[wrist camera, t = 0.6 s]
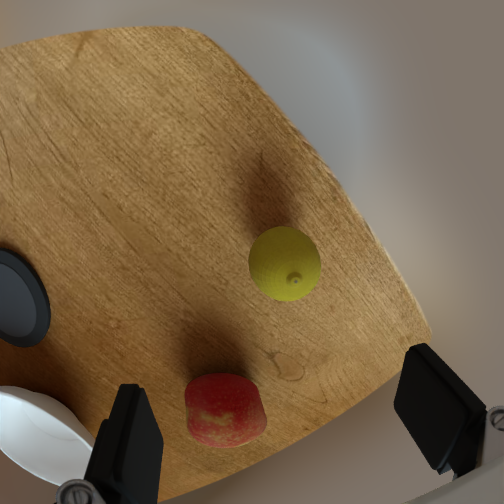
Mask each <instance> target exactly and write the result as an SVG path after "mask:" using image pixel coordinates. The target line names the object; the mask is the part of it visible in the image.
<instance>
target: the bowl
mask: <svg viewBox="0 0 504 504" xmlns="http://www.w3.org/2000/svg"><path fill="white" fill-rule="evenodd" d="M94 443H95V439H94V438H93V436H92V435H91V433H90V432H89V431H88V430H87V429H86V428H85V427H84V426H83V425H82V424H81V423H80V422H79V420H78V419H77V417H76V416H75V415H74V414H73V413H72V412H71V411H70V410H69V409H68V408H67V407H66V406H64V405H63V404H62V403H60V402H59V401H57V400H56V399H54V398H52V397H50V396H48V395H45V394H42V393H37V392H32V391H29V390H27V389H24V388H20V387H16V386H0V449H1V450H2V451H3V452H4V453H5V454H6V455H7V456H8V457H9V458H11V459H12V460H13V461H14V462H15V463H17V464H19V465H20V466H21V467H22V468H24V469H26V470H27V471H29V472H30V473H32V474H34V475H36V476H38V477H40V478H42V479H44V480H46V481H48V482H51V483H53V484H56V485H59V486H61V485H62V484H63V483H65V482H66V481H68V480H72V479H84V475H85V472H86V469H87V465H88V462H89V459H90V456H91V453H92V449H93V446H94Z"/></svg>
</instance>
